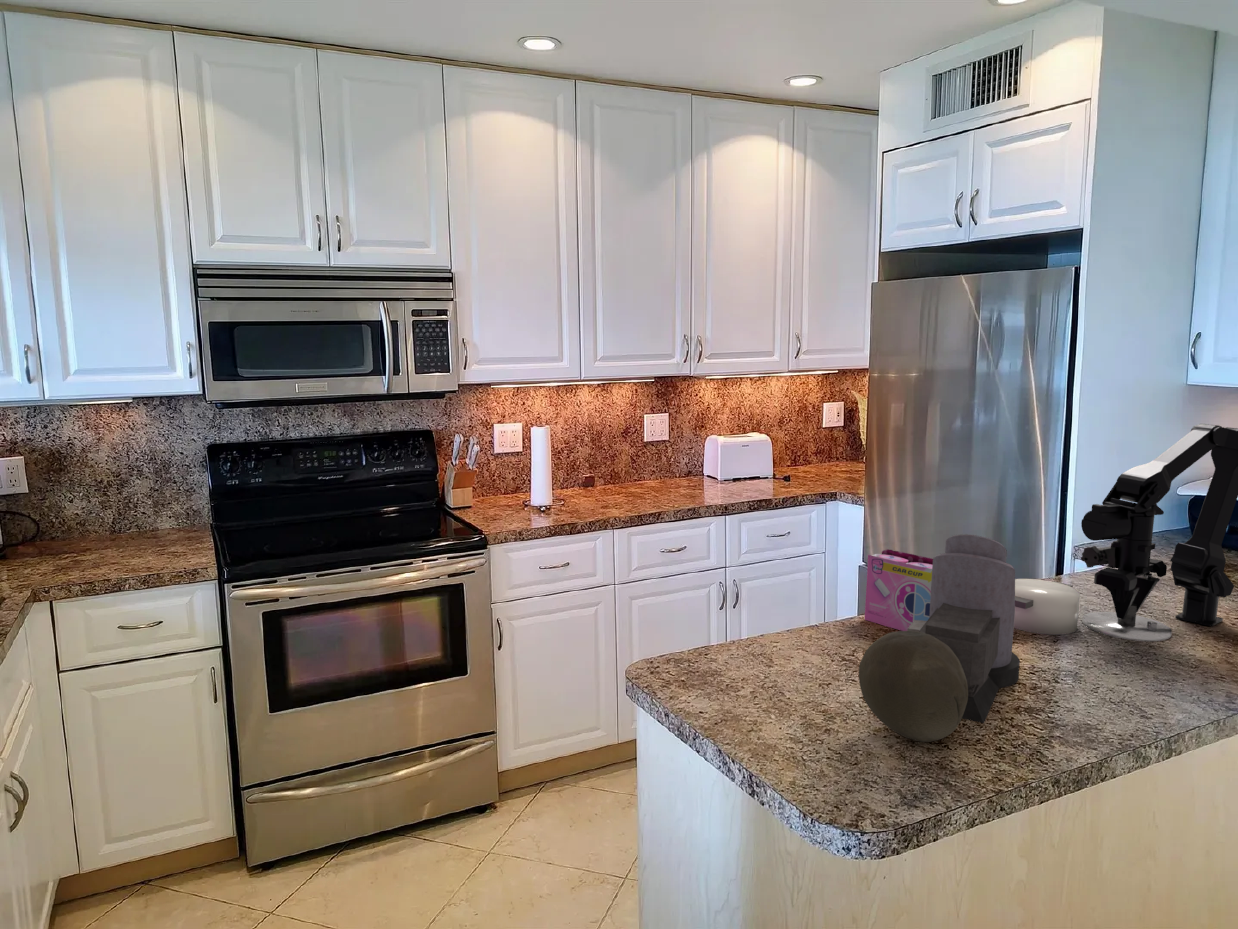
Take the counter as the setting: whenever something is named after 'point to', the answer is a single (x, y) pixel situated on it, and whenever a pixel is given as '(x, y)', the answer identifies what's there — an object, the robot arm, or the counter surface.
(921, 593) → the pink product box
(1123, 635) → the cooker lid
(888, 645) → the cantaloupe
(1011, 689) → the counter surface
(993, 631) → the juicer
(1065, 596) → the cooker pot
